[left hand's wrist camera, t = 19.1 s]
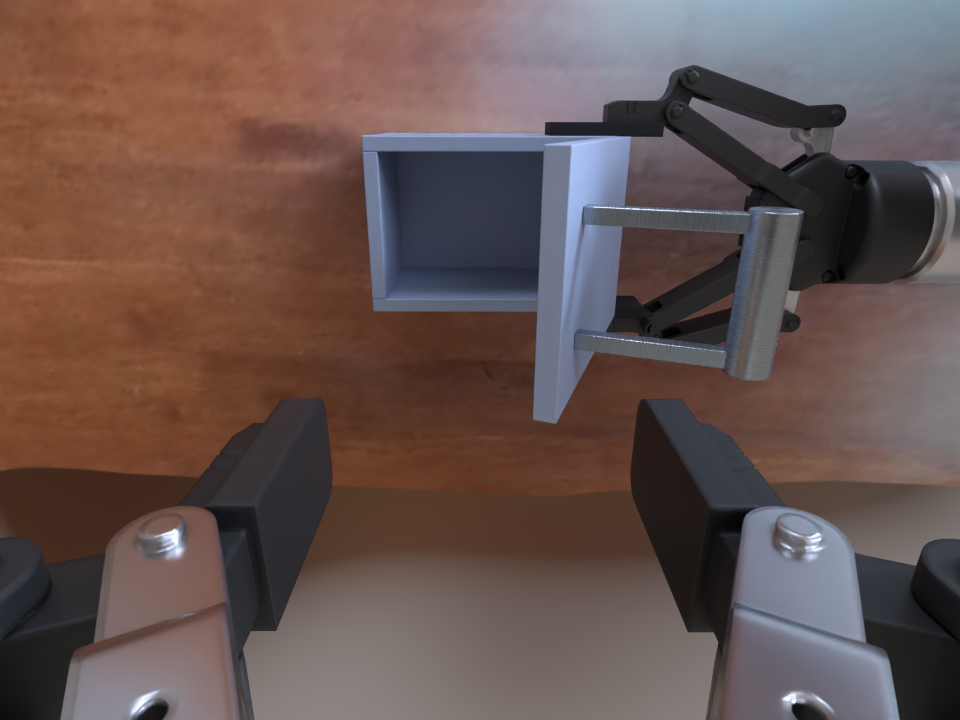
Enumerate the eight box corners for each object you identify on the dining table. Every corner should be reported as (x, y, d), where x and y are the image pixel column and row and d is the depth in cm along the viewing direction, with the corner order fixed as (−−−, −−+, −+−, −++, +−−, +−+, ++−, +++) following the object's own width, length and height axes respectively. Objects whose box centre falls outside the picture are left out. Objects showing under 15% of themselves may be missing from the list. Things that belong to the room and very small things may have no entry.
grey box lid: (532, 420, 23) (765, 460, 20) (543, 144, 19) (832, 148, 17) (598, 314, 36) (746, 330, 33) (613, 136, 32) (782, 137, 30)
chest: (393, 275, 45) (373, 312, 36) (385, 132, 41) (360, 135, 33) (580, 276, 45) (605, 312, 37) (590, 133, 41) (620, 136, 33)
